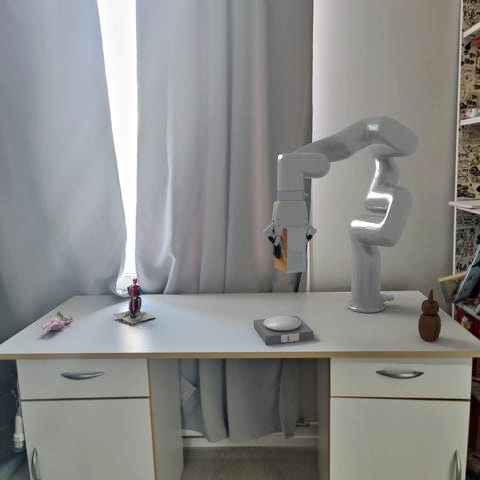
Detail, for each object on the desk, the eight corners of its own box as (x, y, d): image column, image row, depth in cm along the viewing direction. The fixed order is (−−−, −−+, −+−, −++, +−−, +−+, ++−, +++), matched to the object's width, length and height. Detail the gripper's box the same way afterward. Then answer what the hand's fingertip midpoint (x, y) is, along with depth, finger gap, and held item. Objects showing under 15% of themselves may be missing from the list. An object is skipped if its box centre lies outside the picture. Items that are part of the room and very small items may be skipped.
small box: (273, 268, 147) (274, 224, 145) (292, 266, 150) (293, 223, 147) (286, 273, 140) (287, 228, 138) (306, 271, 142) (306, 227, 140)
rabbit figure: (59, 325, 164) (35, 334, 149) (59, 307, 164) (35, 314, 149) (77, 325, 163) (55, 334, 148) (77, 307, 163) (54, 315, 148)
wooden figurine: (437, 345, 134) (439, 291, 131) (415, 341, 137) (417, 289, 134) (442, 336, 139) (444, 285, 137) (421, 333, 143) (422, 283, 140)
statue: (155, 322, 163) (156, 279, 159) (131, 329, 156) (132, 285, 153) (136, 311, 170) (136, 270, 167) (112, 318, 164) (112, 275, 160)
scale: (297, 323, 154) (297, 312, 153) (314, 340, 140) (314, 328, 139) (254, 327, 151) (253, 317, 151) (266, 345, 137) (266, 333, 136)
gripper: (314, 195, 147) (313, 253, 149) (257, 196, 143) (257, 256, 146) (323, 197, 139) (322, 258, 142) (264, 198, 136) (264, 261, 139)
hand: (289, 257), depth 144 cm, fingers closed on small box, 7 cm apart
